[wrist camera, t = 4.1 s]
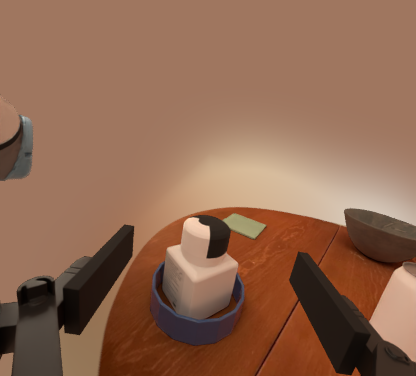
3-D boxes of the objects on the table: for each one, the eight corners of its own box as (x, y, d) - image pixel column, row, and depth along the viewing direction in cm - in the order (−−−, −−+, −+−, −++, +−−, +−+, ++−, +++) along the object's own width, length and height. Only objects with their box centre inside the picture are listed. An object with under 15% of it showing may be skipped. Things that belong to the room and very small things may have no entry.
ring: (129, 303, 28) (131, 282, 27) (188, 260, 39) (190, 244, 38) (209, 370, 22) (215, 346, 21) (252, 296, 33) (256, 278, 32)
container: (200, 274, 36) (212, 207, 33) (229, 306, 30) (248, 229, 27) (160, 289, 31) (169, 213, 28) (186, 331, 26) (201, 241, 22)
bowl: (438, 276, 49) (459, 240, 46) (390, 284, 42) (410, 243, 40) (361, 236, 66) (373, 208, 63) (319, 237, 59) (329, 206, 57)
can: (370, 352, 27) (408, 278, 24) (361, 317, 32) (391, 253, 29) (436, 385, 24) (489, 307, 21) (414, 341, 30) (453, 274, 26)
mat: (217, 224, 57) (218, 222, 57) (233, 214, 66) (234, 213, 66) (254, 239, 52) (254, 238, 51) (266, 226, 61) (266, 225, 61)
